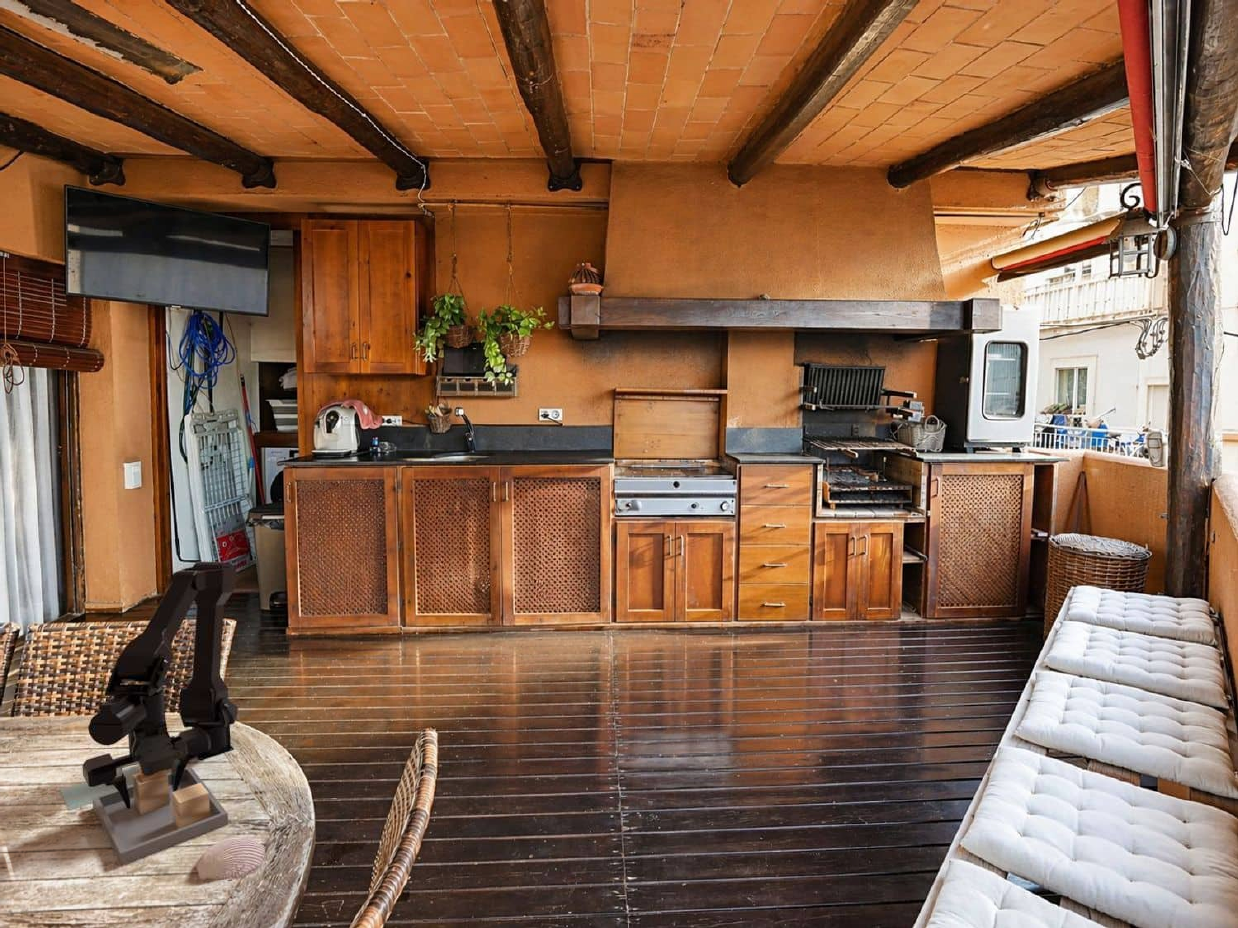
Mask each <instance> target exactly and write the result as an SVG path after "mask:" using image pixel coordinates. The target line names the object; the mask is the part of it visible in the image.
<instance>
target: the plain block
mask: <svg viewBox="0 0 1238 928" xmlns="http://www.w3.org/2000/svg"><path fill="white" fill-rule="evenodd" d="M172 803H173V819H174V824H175V825H176V827H177V828H178V829H180V828H183V827H186V826H188V825H191V824H194V823H196V822H199V821H202V820H204V819H207V818H210V805H209V792H208V791H207V790H206V789H205V787H204V786H203V785H202V783H198V784H195V785H192V786H189V787H186V788H183V789H180V790H178V791H175V792H172Z"/></svg>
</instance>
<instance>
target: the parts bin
mask: <svg viewBox="0 0 1238 928" xmlns="http://www.w3.org/2000/svg"><path fill="white" fill-rule="evenodd" d="M166 774H167V775H168V784H169V800H170V805H167V806H164V807H161V808H158V809H155V810H153V811H150V812H147V813H144V814H140V813H139V811H138V809H137V807H136V806H135V804H134V790H133V785H130V786H127V789H128V793H129V798H130V809H127V807H126V805H125V803H124V801H123V799H122V797H121V795H120V793H119V791H118V790H115V791H111V792H108V793H105V794H102V795H99V796H96V797H93V798H92V799H93V803H92V810H93V811H94V814H95V815H96V817H97V819H98V821H99V823H100V825H101V828H102V829H103V831H104V833H105V836H106V838H107V840H108V841H109V843H110V846H111V848H112V850H113V852H114V854H115V855H116V858H117V860H118V862H119V864H120V865H121V866H122V867H123V866H124V865H125V866H126V865H128V864H129V863H132V862H135V861H137V860H140V859H143V858H145V857H148V856H150V855H154V854H155V853H159V852H161V851H163V850H166V849H168V848H171V847H173V846H174V847H175V846H176V845H179V844H181V843H184V842H186V841H190V840H191V839H194V838H196V837H200V836H201V835H204V834H207V833H210V832H212V831H214V830H217V829H220V828H223V827H226V826H228V825H229V813H228V811H226V809H225V808H224V807H223V805H222V804H221V803H220V801H219V800H218V799H217V798H216V796H215V795H214V794H213V793H212V791H211V790H210V789H209V788H208V787H207V785H206V784H205V782H204V781H203V780H202V779H201V778H200V776H199V775H198V774H197V773H196V771H195V770H194V769H193V767H192V766H191V765H190V766H189V765H188V766H186V767H185V769H184V772H183V774H182V777H181V780H180V783H179V786H178V789H177V791H178V790H180V789H183V788H186V787H189V786H192V785H195V784H198V783H202V785H203V786H204V787H205V789H206V790H207V791H208V792H209V805H210V818H207V819H204V820H202V821H199V822H196V823H194V824H191V825H188V826H186V827H183V828H180V829H178V828H177V827H176V825H175V824H174V819H173V803H172V792H173V791H172V784H171V771H170V772H168V773H167V772H166Z"/></svg>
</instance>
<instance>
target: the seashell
mask: <svg viewBox="0 0 1238 928" xmlns="http://www.w3.org/2000/svg"><path fill="white" fill-rule="evenodd" d="M265 850H266V849H265V848H264V846H263V844H262V843H260V842H259V841H256V840H254V839H252V838H248V837H240V836H239V837H230V838H226V839H222V840H220V841H218V842H216V843H214V844H212V845H211V846H210V847H209V848H207V849H206V850H205V851H204V852H203V853H202V854H201V856H200V857H199V858H198V860H197V861H196V864H195V870H196V871H197V873H198V878H199V879H200V881H205V880H208V879H209V880H210V879H211V880H222V879H227V882H230V881H231V882H232V881H233V879H234V880H237V879H238V880H239V879H240V877H241V878H244V877H245V876H249V874H252V873H253V872H254V871H256V870H257V869H260V868H261V867H262V865H260V866H259V864H261V863H262V861H263V860H264V858H265V856H266V851H265Z"/></svg>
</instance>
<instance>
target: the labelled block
mask: <svg viewBox="0 0 1238 928" xmlns="http://www.w3.org/2000/svg"><path fill="white" fill-rule="evenodd" d="M132 776H133V790H134V804H135V806H136V807H137V809H138V811H139V813H140V814H144V813H147V812H150V811H153V810H155V809H158V808H161V807H164V806H167V805H170V800H169V784H168V775H167V771H166V770H163V771H160V772H157V773H155V774H153V775H150V776H145V775H143V773H142V771H141V772H139V773H138V774H135V775H132Z"/></svg>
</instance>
